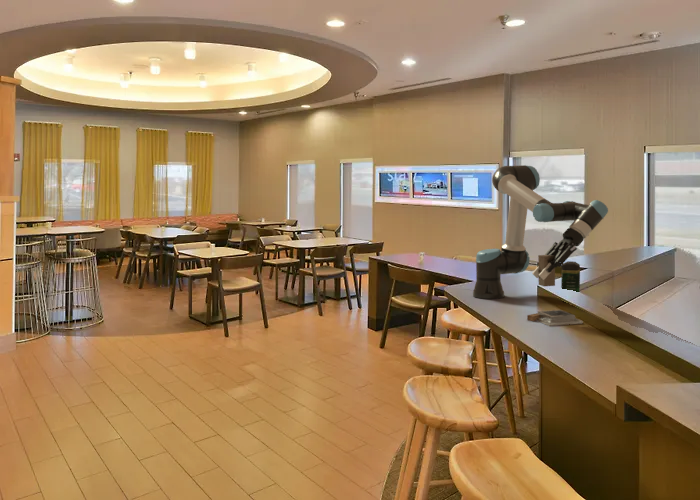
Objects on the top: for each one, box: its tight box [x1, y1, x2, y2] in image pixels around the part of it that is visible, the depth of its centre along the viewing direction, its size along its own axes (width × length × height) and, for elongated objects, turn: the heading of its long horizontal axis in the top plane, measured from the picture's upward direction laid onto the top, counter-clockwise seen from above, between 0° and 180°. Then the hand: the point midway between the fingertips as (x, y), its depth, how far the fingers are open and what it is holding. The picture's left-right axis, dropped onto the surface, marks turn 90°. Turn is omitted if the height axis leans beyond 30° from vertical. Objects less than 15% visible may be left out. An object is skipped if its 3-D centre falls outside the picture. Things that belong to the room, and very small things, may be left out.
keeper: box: [536, 309, 584, 327], centre depth 201 cm, size 14×14×3 cm
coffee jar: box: [560, 260, 581, 292], centre depth 236 cm, size 10×8×19 cm
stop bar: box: [537, 254, 556, 287], centre depth 203 cm, size 4×4×12 cm
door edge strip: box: [526, 312, 540, 322], centre depth 207 cm, size 2×16×2 cm, turn 120°
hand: (537, 276), depth 202 cm, fingers closed on stop bar, 4 cm apart
